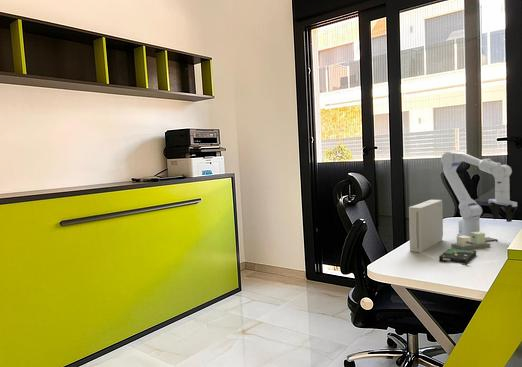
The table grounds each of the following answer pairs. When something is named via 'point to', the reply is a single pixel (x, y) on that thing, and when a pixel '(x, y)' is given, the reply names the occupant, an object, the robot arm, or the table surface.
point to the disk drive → (457, 256)
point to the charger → (477, 238)
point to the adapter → (464, 240)
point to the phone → (490, 239)
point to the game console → (425, 225)
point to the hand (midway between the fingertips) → (502, 220)
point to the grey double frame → (473, 246)
